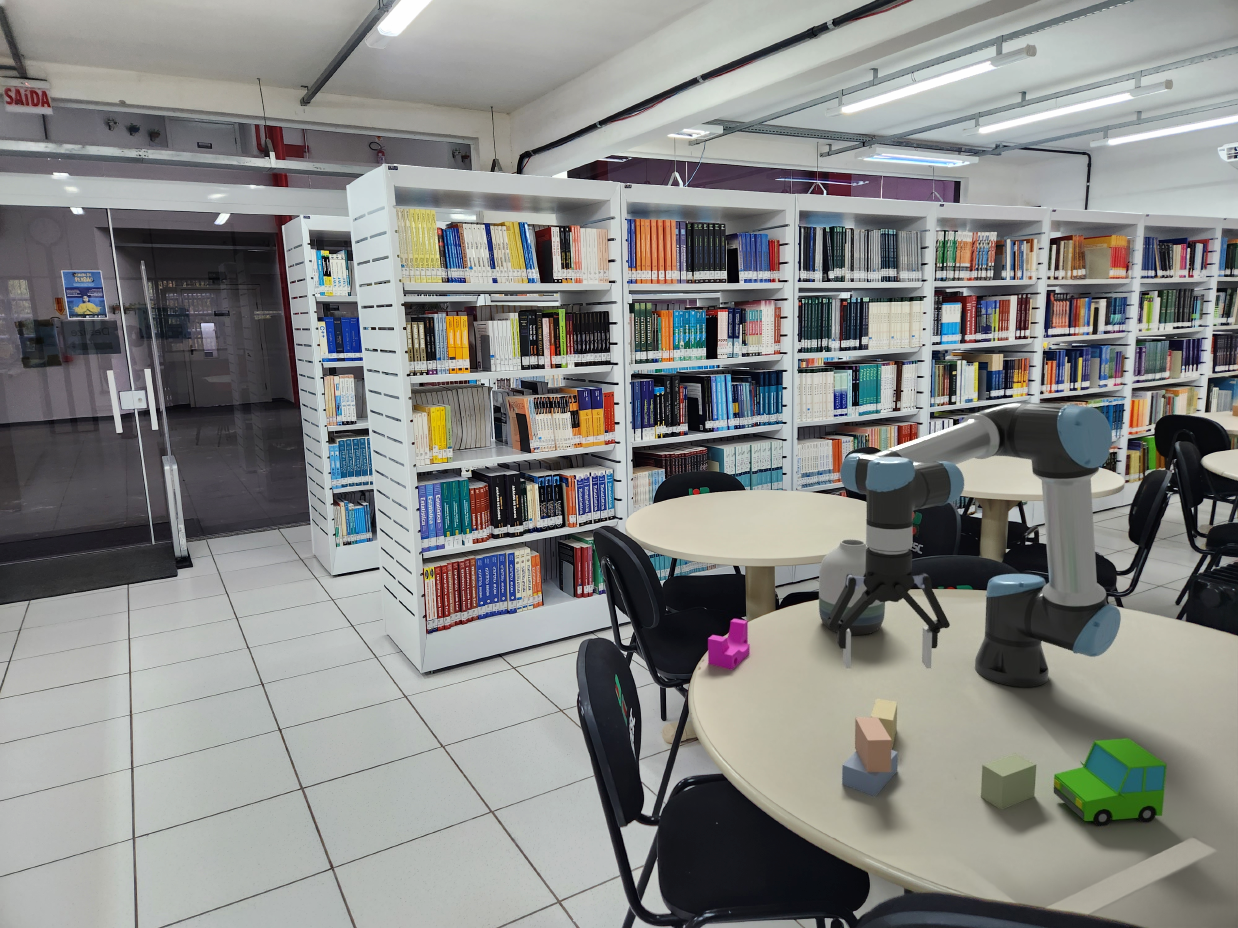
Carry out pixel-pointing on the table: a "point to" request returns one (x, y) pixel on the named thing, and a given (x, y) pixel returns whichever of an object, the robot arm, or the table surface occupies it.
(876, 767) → the brick terracotta
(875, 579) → the robot arm
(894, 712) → the brick ochre
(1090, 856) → the table surface
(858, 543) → the vase
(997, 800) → the brick olive
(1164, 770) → the toy car
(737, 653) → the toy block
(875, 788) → the brick slate
